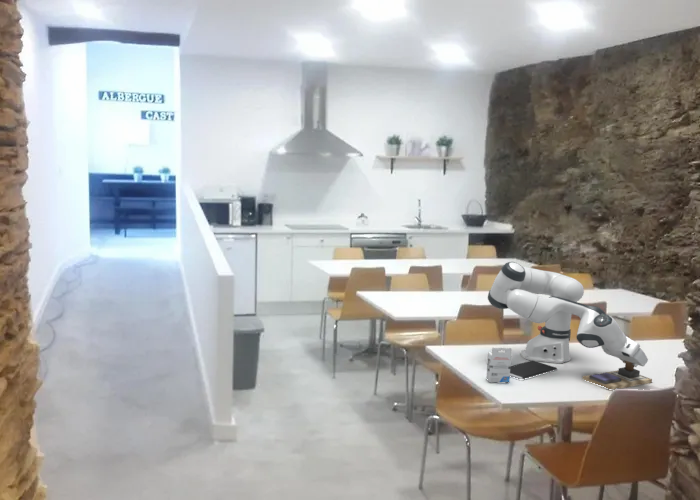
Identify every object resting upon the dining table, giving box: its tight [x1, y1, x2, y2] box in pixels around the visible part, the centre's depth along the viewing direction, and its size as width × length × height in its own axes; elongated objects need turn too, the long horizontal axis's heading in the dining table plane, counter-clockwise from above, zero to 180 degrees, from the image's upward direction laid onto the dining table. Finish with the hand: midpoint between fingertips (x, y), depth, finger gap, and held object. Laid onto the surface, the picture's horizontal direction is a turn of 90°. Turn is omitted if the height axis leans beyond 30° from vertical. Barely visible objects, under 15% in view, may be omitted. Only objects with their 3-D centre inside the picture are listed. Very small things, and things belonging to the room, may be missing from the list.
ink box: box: [485, 347, 512, 383], centre depth 284 cm, size 8×5×15 cm, turn 96°
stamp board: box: [581, 369, 653, 390], centre depth 293 cm, size 26×14×3 cm, turn 119°
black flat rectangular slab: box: [510, 360, 558, 379], centre depth 301 cm, size 13×27×2 cm, turn 131°
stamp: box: [617, 361, 641, 378], centre depth 295 cm, size 6×6×9 cm
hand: (631, 363), depth 296 cm, fingers closed on stamp, 3 cm apart
